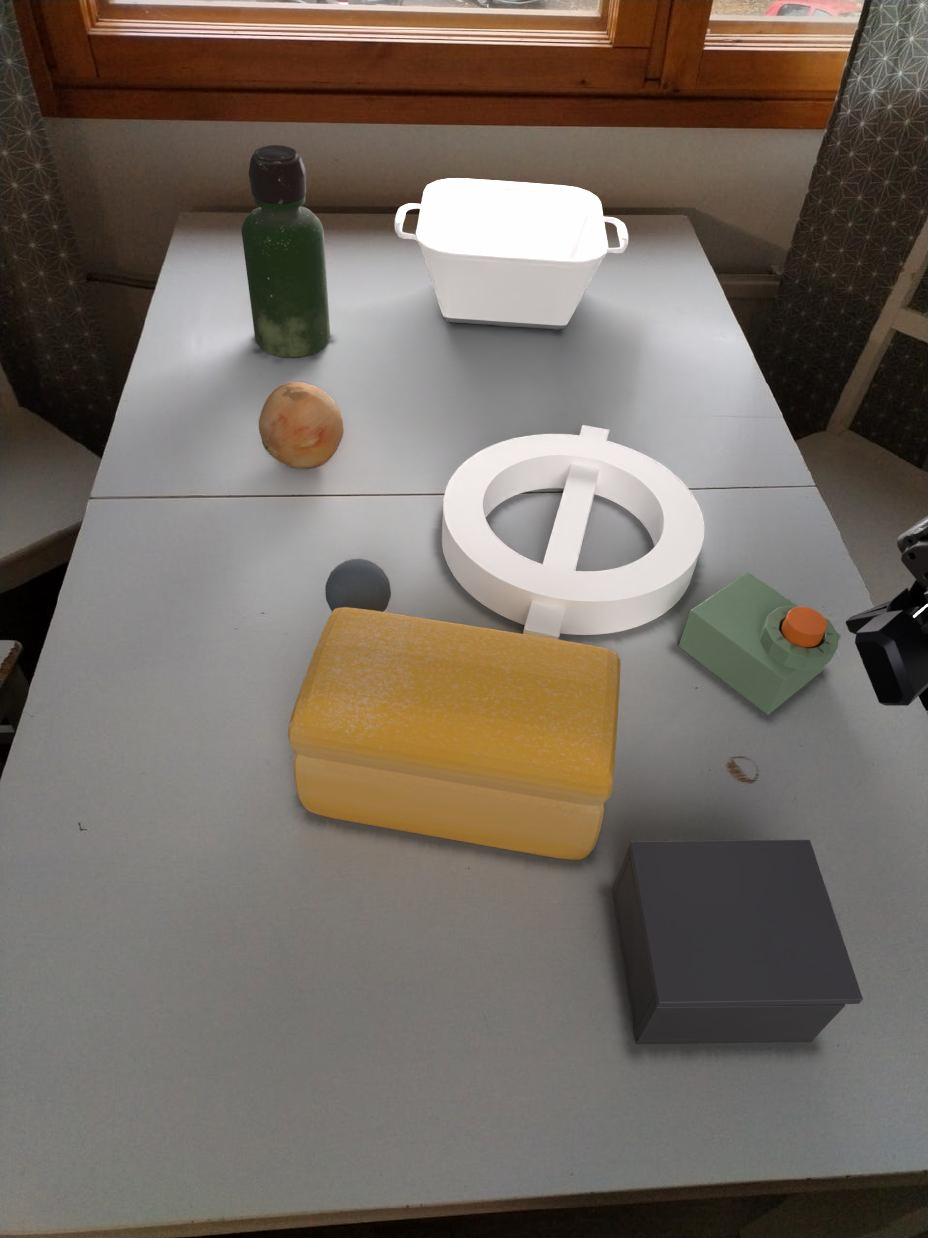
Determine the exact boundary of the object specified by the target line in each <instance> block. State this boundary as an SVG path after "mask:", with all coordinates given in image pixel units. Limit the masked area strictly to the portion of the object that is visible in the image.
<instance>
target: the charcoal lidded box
mask: <svg viewBox="0 0 928 1238" xmlns="http://www.w3.org/2000/svg"><path fill="white" fill-rule="evenodd" d="M612 897H613V903H614V909H615V910H614V911H615V915H616V921H617V922H616V923H617V930H618V937H619V941H620V948H621V954H622V961H623V967H624V975H625V981H626V987H627V992H628V993H627V994H628V1000H629V1005H630V1006H629V1007H630V1012H631V1013H630V1014H631V1019H632V1026H633V1033H634V1038H635V1039H634V1040H635V1045H679V1044H680V1045H684V1044H685V1045H686V1044H688V1045H689V1044H744V1043H745V1044H749V1043H750V1044H751V1043H752V1044H753V1043H758V1044H759V1043H760V1044H761V1043H763V1044H764V1043H811V1042H813V1040H814V1039H816V1037H817V1036H818V1035H819V1034H820V1033H821V1032H822V1031H823V1030H824V1029H825V1028H826V1027H827V1026H828V1025H829V1024H830V1022H832V1020H833V1019H834V1018H836V1017H837V1016H838V1014H839V1013H840V1012H841V1011H842V1010H843V1009H844V1008H845V1007H846V1004H823V1005H764V1006H705V1007H657V1006H656V1001H655V995H654V989H653V983H652V978H651V972H650V966H649V960H648V955H647V949H646V943H645V938H644V932H643V926H642V920H641V915H640V909H639V903H638V898H637V892H636V886H635V880H634V875H633V869H632V863H631V858H630V852H629V846H628V847H627V849H626V852H625V855H624V857H623V860H622V863H621V866H620V869H619V872H618V874H617V876H616V879H615V882H614V885H613V887H612Z"/></svg>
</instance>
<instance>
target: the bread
mask: <svg viewBox="0 0 928 1238" xmlns="http://www.w3.org/2000/svg"><path fill="white" fill-rule="evenodd" d="M620 686H621V658H620V657H619V654H618V653H617V652H615V651H613V650H610V649H609V648H606V647H601V646H596V645H592V644H591V645H590V644H586V643H582V642H581V643H580V642H575V641H568V640H562V639H559V640H557V639H551V638H544V637H538V636H532V635H525V634H523V633H518V632H513V631H506V630H500V629H492V628H487V627H482V626H481V627H480V626H474V625H469V624H462V623H457V622H449V621H443V620H442V621H441V620H436V619H431V618H423V617H417V616H411V615H406V614H399V613H393V612H386V611H384V612H380V611H374V610H366V609H358V608H348V607H343V608H335V609H334V610H333V611H331V613H330V615H329V617H328V619H327V621H326V623H325V625H324V627H323V629H322V631H321V634H320V636H319V639H318V641H317V643H316V645H315V648H314V650H313V654H312V656H311V659H310V662H309V664H308V667H307V670H306V672H305V675H304V678H303V681H302V684H301V686H300V688H299V692H298V694H297V698H296V701H295V703H294V706H293V708H292V712H291V716H290V719H289V723H288V728H287V738H288V742H289V744H290V747H291V748H292V750H293V751H294V754H293V758H292V759H293V761H292V762H293V764H292V767H293V778H294V787H295V790H296V795H297V797H298V799H299V801H300V803H301V804H302V806H303V807H304V808H305V809H306V811H307V812H310V813H312V814H315V815H318V816H320V817H321V816H322V817H326V818H330V819H335V820H338V821H339V820H340V821H345V822H351V823H356V824H362V825H368V826H373V827H379V828H384V829H388V830H389V829H391V830H395V831H402V832H407V833H412V834H418V835H423V836H429V837H436V838H440V839H446V840H452V841H456V842H457V841H458V842H464V843H469V844H474V845H480V846H486V847H491V848H497V849H501V850H507V851H513V852H514V851H515V852H519V853H525V854H530V855H536V856H541V857H548V858H555V859H562V860H572V861H574V860H583V859H585V858H587V857H588V856H589V855H590V854H591V853H592V852H593V850H594V849H595V847H596V845H597V842H598V840H599V836H600V832H601V829H602V826H603V825H602V824H603V820H604V815H605V814H604V813H605V804H606V802H607V801H608V800H609V799H610V798H611V795H612V793H613V788H614V787H613V785H614V772H615V762H616V761H615V760H616V750H617V735H618V723H619V721H618V720H619V706H620V705H619V704H620V688H621V687H620Z"/></svg>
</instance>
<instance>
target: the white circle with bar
mask: <svg viewBox="0 0 928 1238" xmlns="http://www.w3.org/2000/svg"><path fill="white" fill-rule="evenodd" d="M609 434H610V429H606V428H601V427H595V426H592V425H591V426H590V425H586V424H585V425H584V424H582V426H581V429H580V432H579V435H578V434H572V433H571V434H568V433H539V434H531V435H523V436H519V437H513V438H510V439H506V440H503V441H500V442H497V443H494V444H492V445H489V446H487V447H484V448H483V449H481V450H479V451H478V452H476V453H474V454H473V455H471V456H470V457H469V458H467V459H466V460H465V461H464V462H462V463H461V465H460V466H459V467H458V468H457V469H456V470H455V471H454V472H453V474H452V476H451V477H450V478H449V481H448V483H447V485H446V488H445V491H444V494H443V501H442V523H441V525H442V526H441V548H442V553H443V556H444V560H445V562H446V564H447V566H448V568H449V570H450V572H451V574H452V575H453V577H454V578H455V579H456V581H457V583H459V584H460V586H461V587H462V588H463V589H464V590H465V591H466V592H467V594H468V595H470V596H471V597H473V599H475V600H476V601H477V602H479V603H480V604H481V605H483V606H485V607H486V608H487V609H489V610H491V611H492V612H494V613H496V614H498V615H499V616H501V617H503V618H505V619H508V620H510V621H511V622H512V621H513V622H515V623H518V624H520V625H522V626H523V625H524V626H523V627H524V628H523V633H522V634H525V635H532V636H538V637H544V638H551V639H557V640H560V635H561V634H563V635H574V636H594V635H596V636H598V635H606V634H607V635H609V634H615V633H619V632H624V631H628V630H631V629H635V628H638V627H641V626H643V625H646V624H648V623H650V622H652V621H655V620H656V619H658V618H659V617H661V616H662V615H664V614H665V613H667V612H668V611H669V610H671V609H672V608H673V607H674V606H675V605H676V604H677V603H678V602H679V601H680V600H681V598H682V597H683V596H684V594H685V593H686V591H687V589H688V588H689V585H690V584H691V581H692V578H693V574H694V572H695V569H696V565H697V562H698V559H699V556H700V554H701V550H702V547H703V544H704V540H705V539H704V538H705V521H704V516H703V512H702V510H701V507H700V505H699V503H698V501H697V499H696V498H695V496H694V494H693V493H692V492H691V490H690V489H689V487H688V486H687V485H686V483H684V482H683V481H682V480H681V479H680V478H679V477H678V476H677V475H676V474H675V473H673V472H672V471H671V470H669V468H667V467H666V466H664V465H663V464H662V463H660V462H658V461H657V460H655V459H654V458H652V457H650V456H648V455H646V454H645V453H642V452H640V451H637V450H635V449H633V448H630V447H629V446H625V445H623V444H619V443H616V442H613V441H610V440H608V439H609V436H610V435H609ZM544 489H545V490H547V489H563V492H562V495H561V499H560V502H559V504H558V505H559V506H558V509H557V512H556V516H555V519H554V522H553V527H552V530H551V534H550V537H549V540H548V544H547V546H546V547H547V548H546V551H545V555H544V558H543V562H542V563H540V562H538V561H534V560H532V559H531V558H528V557H526V556H524V555H521V554H520V553H518V552H517V551H515V550H514V549H512V548H511V547H509V546H508V545H506V543H504V542H503V541H502V540H501V539H500V538H499V537H498V536H497V534H495V532H494V531H493V530H492V528H491V527H490V525H489V523H488V520H487V518H488V516H489V515H490V513H491V512H493V510H494V509H495V508H496V507H498V506H499V505H500V504H501V503H503V502H505V501H507V500H508V499H511V498H513V497H515V496H517V495H521V494H523V493H527V492H531V491H537V490H544ZM595 496H598V497H601V498H604V499H607V500H609V501H611V502H613V503H615V504H617V505H619V506H621V507H622V508H623V509H625V510H627V512H629V513H630V514H632V515H633V516H634V517H636V518H637V519H638V521H639V522H640V523H641V524H642V525H643V526H644V528H645V529H646V531H647V532H648V534H649V536H650V538H651V540H652V543H653V548H652V549H651V550H650V551H649V552H648V553H646V554H645V555H643V556H642V557H640V558H638V559H637V560H635V561H633V562H631V563H628V564H625V565H622V566H618V567H615V568H609V569H603V570H590V571H588V570H587V571H585V570H577V566H578V562H579V558H580V554H581V550H582V546H583V542H584V538H585V533H586V529H587V526H588V521H589V517H590V513H591V511H592V510H591V509H592V506H593V501H594V497H595Z"/></svg>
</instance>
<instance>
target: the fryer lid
mask: <svg viewBox="0 0 928 1238" xmlns="http://www.w3.org/2000/svg"><path fill="white" fill-rule="evenodd" d="M628 847H629V852H630V858H631V863H632V869H633V875H634V880H635V886H636V892H637V898H638V903H639V909H640V915H641V920H642V926H643V932H644V938H645V943H646V949H647V955H648V960H649V966H650V972H651V978H652V983H653V989H654V995H655V1001H656V1006H657V1007H705V1006H764V1005H823V1004H845V1005H859V1004H860V1003H862V1001H863V1000H864V997H863V995H862V991H861V989H860V987H859V983H858V980H857V976H856V974H855V971H854V967H853V965H852V962H851V959H850V956H849V953H848V950H847V947H846V944H845V941H844V938H843V935H842V931H841V929H840V926H839V923H838V920H837V917H836V914H835V911H834V908H833V905H832V902H831V899H830V896H829V893H828V890H827V887H826V884H825V880H824V877H823V874H822V871H821V868H820V866H819V863H818V859H817V857H816V854H815V851H814V847H813V845H812V841H811V840H810V839H751V840H750V839H747V840H745V839H744V840H743V839H742V840H740V839H739V840H737V839H736V840H733V839H732V840H730V839H729V840H631V841H629V845H628Z"/></svg>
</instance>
